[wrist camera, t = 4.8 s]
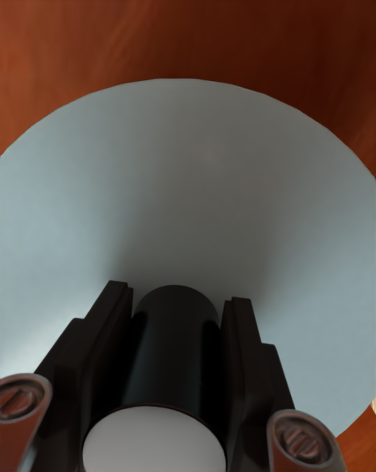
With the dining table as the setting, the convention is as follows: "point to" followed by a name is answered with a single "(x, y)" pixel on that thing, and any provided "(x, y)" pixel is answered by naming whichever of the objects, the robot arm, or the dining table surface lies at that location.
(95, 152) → the pot lid
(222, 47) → the dining table surface
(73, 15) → the dining table surface
